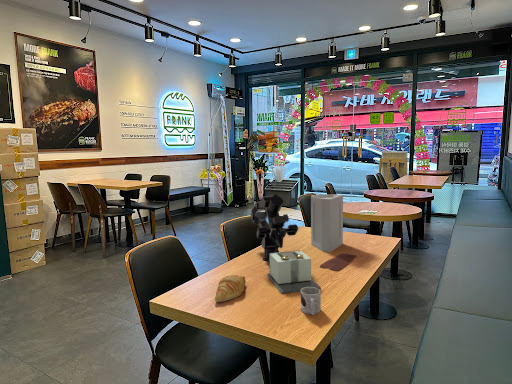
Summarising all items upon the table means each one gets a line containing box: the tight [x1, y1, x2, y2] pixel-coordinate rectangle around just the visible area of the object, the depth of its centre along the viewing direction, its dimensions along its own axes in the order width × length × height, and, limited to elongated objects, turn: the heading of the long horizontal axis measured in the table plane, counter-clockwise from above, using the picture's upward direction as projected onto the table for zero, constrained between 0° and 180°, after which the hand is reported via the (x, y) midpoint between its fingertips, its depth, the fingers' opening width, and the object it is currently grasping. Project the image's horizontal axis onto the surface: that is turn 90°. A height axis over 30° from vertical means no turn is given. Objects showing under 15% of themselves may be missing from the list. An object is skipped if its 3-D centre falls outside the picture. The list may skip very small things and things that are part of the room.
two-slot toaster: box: [268, 250, 312, 284], centre depth 142 cm, size 12×14×9 cm
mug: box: [300, 287, 322, 316], centre depth 113 cm, size 10×7×7 cm, turn 178°
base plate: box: [266, 255, 322, 295], centre depth 139 cm, size 20×16×11 cm
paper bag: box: [310, 193, 344, 253], centre depth 189 cm, size 19×15×28 cm
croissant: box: [214, 274, 247, 303], centre depth 130 cm, size 21×10×8 cm, turn 156°
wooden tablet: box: [319, 253, 358, 272], centre depth 163 cm, size 27×10×2 cm, turn 143°
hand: (281, 247), depth 152 cm, fingers closed
